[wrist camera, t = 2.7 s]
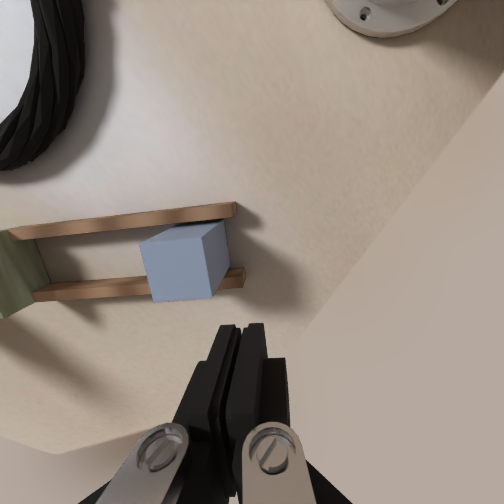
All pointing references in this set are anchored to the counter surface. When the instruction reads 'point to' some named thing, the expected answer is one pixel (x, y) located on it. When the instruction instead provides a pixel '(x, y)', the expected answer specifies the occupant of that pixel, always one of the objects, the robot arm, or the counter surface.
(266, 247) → the counter surface
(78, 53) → the cable lock
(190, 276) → the block
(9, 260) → the track
